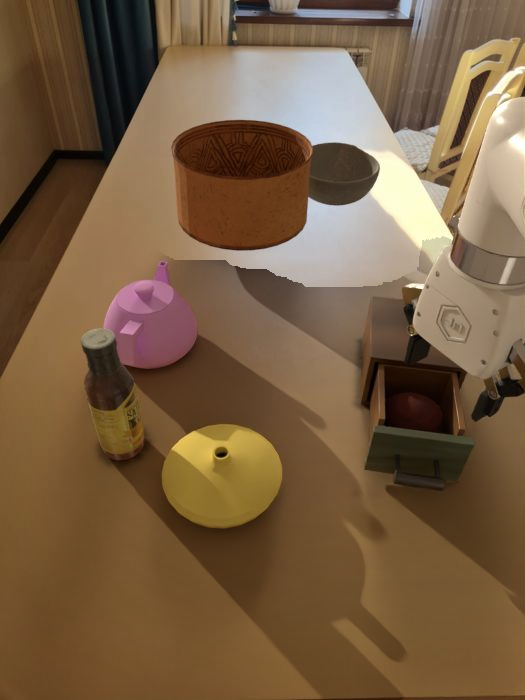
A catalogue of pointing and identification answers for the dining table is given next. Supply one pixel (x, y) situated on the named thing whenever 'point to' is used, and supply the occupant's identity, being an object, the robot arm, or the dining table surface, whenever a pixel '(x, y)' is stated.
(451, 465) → the drawer
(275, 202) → the pot
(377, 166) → the bowl
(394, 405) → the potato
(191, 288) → the dining table surface
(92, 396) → the sauce bottle
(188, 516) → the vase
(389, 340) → the cabinet
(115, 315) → the teapot
